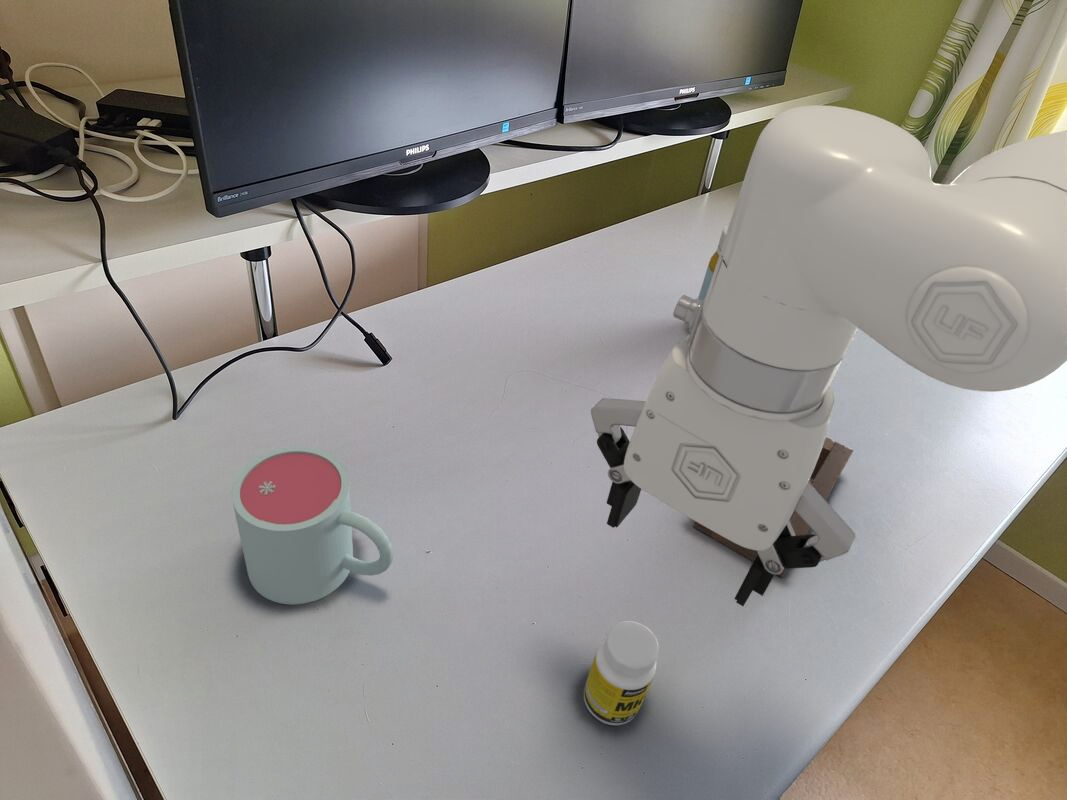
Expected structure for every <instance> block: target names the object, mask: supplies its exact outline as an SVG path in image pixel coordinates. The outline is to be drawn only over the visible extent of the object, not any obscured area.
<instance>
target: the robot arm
mask: <svg viewBox="0 0 1067 800" xmlns="http://www.w3.org/2000/svg"><path fill="white" fill-rule="evenodd" d="M931 176H932V166H931V160H930V157H929V153H928V152H927V150H926V148H925V147H924V146H923V144H922V142H921V141H920V140H919V139H918V138H916V136H915V135H913V134H911V133H910V132H908V131H907V130H906V129H904V128H902V127H900V126H899V125H897V124H895V123H893V122H891V121H888V120H886V119H884V118H882V117H879V116H876V115H873V114H871V113H867V112H864V111H861V110H857V109H852V108H848V107H841V106H835V105H820V104H819V105H801V106H800V105H799V106H795V107H792V108H789V109H787V110H784V111H782V112H780V113H778V114H776V116H774V117H773V118H772V119H771V120H770V121H769V122H768V123H767V125H765V127H764V128H763V129H762V131H761V132H760V135H759V136H758V138H757V141H756V144H755V146H754V149H753V150H752V153H751V156H750V159H749V163H748V166H747V168H746V172H745V176H744V178H743V181H742V183H741V184H742V185H741V188H740V191H739V194H738V196H737V199H736V203H735V206H734V208H733V209H734V210H733V212H732V215H731V218H730V221H729V223H730V224H729V223H728V224H729V227H728V231H727V234H726V237H725V240H724V243H723V246H722V249H721V252H720V255H719V258H718V261H717V265H716V268H715V271H714V274H713V277H712V280H711V283H710V286H709V289H708V292H707V295H706V297H705V298H704V299H703V300H700V299H698V297H697V298H695V299H694V298H692V297H690V296H687V295H685V294H684V295H682V296H681V297H680V298H679V299H678V301H677V303H676V305H675V307H674V308H673V309H674V310H673V313H672V316H673V318H675V319H677V320H679V321H681V322H683V324H684V326H686V327H688V333H689V335H687V336H686V337H685V338H683V339H682V340H681V341H679V342H677V344H675V346H674V347H673V348H672V350H671V351H670V353H669V355H668V356H667V358H666V360H665V361H664V363H663V365H662V367H661V368H660V370H659V372H658V375H657V376H656V378H655V380H654V383H653V385H652V387H651V389H650V391H649V394H648V395H647V398H646V400H636V399H635V400H634V399H620V398H609V397H608V398H607V397H603V398H601V399H600V400H599V401H598V402H597V403H595V404H594V406H592V408H591V409H590V415H591V418H592V422H593V426H594V430H595V433H597V436H598V438H597V439H596V445H597V447H598V448H599V450H600V452H601V454H602V456H603V458H604V459H605V461H606V463H607V465H608V467H609V469H608V470H607V476H608V478H609V480H610V481H611V485H610V489H609V493H608V495H607V499H606V504H607V505H608V506H610V511H609V514H608V517H607V521H606V525H607V526H609V527H611V528H612V529H614V528H618V527H619V526H620V525H621V524H622V523H623V521H624V520H625V519H626V518H627V517H628V515H629V514H630V513H631V512H632V510H633V509H634V508H635V507H636V505H637V503H638V500H639V498H640V495H641V492H642V491H644V492H645V493H646V494H649V495H650V496H652V497H653V498H655V499H657V500H658V501H660V502H661V503H663V504H665V505H667V506H668V507H670V508H672V509H674V510H675V511H677V512H679V513H681V514H682V515H684V516H686V517H688V518H689V519H691V520H692V521H694V522H695V521H696V522H698V523H700V524H701V525H703V526H705V527H707V528H709V529H710V530H712V531H714V532H716V533H717V534H719V535H721V536H723V537H725V538H726V539H728V540H730V541H732V542H734V543H736V544H738V545H740V546H742V547H745V548H748V549H752V550H757V552H758V555H757V557H756V559H755V560H754V562H753V561H752V563H751V566H750V567H749V570H748V572H747V573H746V575H745V577H744V579H743V581H742V583H741V585H740V587H739V589H738V591H737V593H736V595H735V597H734V600H735V601H736V604H738V605H740V606H741V607H744V606H745V605H746V603H747V601H748V599H749V598H750V596H751V594H752V592H755V593H756V594H758V595H760V596H761V597H763V596H764V595H765V593H766V591H767V589H768V588H769V586H770V584H771V582H772V580H773V579H774V576H775V575H776V576H778V574H781V573H782V571H783V569H787V570H789V569H805V568H806V569H807V568H815V567H818V565H819V563H821V562H824V561H827V562H828V561H830V560H832V559H836V558H837V557H840V556H842V555H845V554H848V552H849V551H850V549H851V547H852V544H853V542H854V540H855V539H856V533H855V532H854V530H853V529H852V528H851V527H850V526H849V525H848V524H847V522H846V521H845V520H844V519H843V518H842V517H841V516H840V515H839V514H838V512H837V511H836V510H835V509H834V508H833V507H832V506H831V505H830V504H829V503H828V502H827V500H826V501H825V499H824V498H823V497H822V496H821V495H820V494H819V493H818V492H817V491H816V489H815V488H814V487H813V486H812V485H811V484H810V483H809V480H811V478H812V477H811V475H812V473H813V470H814V468H815V465H816V463H817V461H818V458H819V455H820V453H821V450H822V447H823V444H824V441H825V438H826V437H827V435H828V431H829V427H830V424H831V419H832V416H833V410H834V405H835V394H834V391H833V389H832V387H831V385H832V382H833V380H834V378H835V376H836V374H837V372H838V370H839V368H840V366H841V365H842V362H843V360H844V358H845V356H846V354H847V352H848V350H849V348H850V346H851V344H852V342H853V340H854V338H855V336H856V334H857V332H858V330H860V331H862V332H863V333H864V334H866V335H867V336H868V337H870V339H873V340H874V341H875V342H877V343H878V344H879V345H880V346H882V347H883V348H884V349H886V351H888V352H890V353H891V354H892V355H894V356H896V358H898V359H900V360H901V361H903V362H904V363H906V365H909V366H910V367H912V368H914V369H916V370H917V371H919V372H920V373H923V374H924V375H926V376H928V377H929V378H932V379H934V380H937V381H938V382H940V383H944V384H947V385H949V386H953V387H955V388H959V389H963V390H969V391H975V392H992V393H993V392H1005V391H1011V390H1016V389H1019V388H1024V387H1027V386H1029V385H1031V384H1035V383H1036V382H1039V381H1040V380H1043V379H1044V378H1047V377H1048V376H1049V375H1051V374H1052V373H1054V372H1056V370H1058V369H1059V368H1060V367H1061V366H1062V365H1064V364H1065V363H1066V362H1067V130H1062V131H1057V132H1053V133H1049V134H1045V135H1044V134H1043V135H1040V136H1035V137H1031V138H1028V139H1024V140H1021V141H1017V142H1015V143H1012V144H1009V145H1006V146H1003V147H1002V148H1000V149H998V150H995V151H992V152H991V153H989V154H986V155H985V156H982V157H981V158H980V159H977V160H976V161H974V162H973V163H972V164H971V165H969V166H968V167H967V168H965V169H964V170H963V171H962V172H960V174H958V176H957V177H955V178H954V179H953V180H952V181H951V182H950V183H949V184H943V183H935V182H934V181H933V179H932V177H931ZM621 426H625V427H634V430H633V433H632V435H631V437H630V438H628V436H627V433H626V431H624V429H623V427H621ZM794 510H795V512H796V513H797V514H798V515H799V516H800V517H801V518H802V519H803V520H804V522H805V523H806V524H807V525H808V526H809V527H810V530H811V531H812V532H813V533H811V534H807V535H798V536H796V535H795V532H794V530H793V527H792V525H791V523H790V518H791V516H792V514H793V512H794Z"/></svg>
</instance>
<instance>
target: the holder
mask: <svg viewBox="0 0 1067 800" xmlns="http://www.w3.org/2000/svg"><path fill="white" fill-rule="evenodd" d="M853 453H854V449H852V448H850V447H848V446H847V445H844V444H842V443H841V442H838V441H836V440H834V439H833V438H831V437H828V436H826V438H825V441H824V444H823V447H822V450H821V453H820V455H819V458H818V461H817V463H816V465H815V468H814V470H813V473H812V475H811V477H810V478H813V480H811V479H810V480H809V483H810V484H811V485H812V486H813V487H814V488H815V489H816V491H817V492H818V493H819V494H820V495H821V496H822V497H823V498H824V499H825V501H826V502H827V499H828V497H829V496H830V494H831V492H832V490H833V488H834V486H835V485H836V483H837V481H838V479H839V477H840V475H841V474H842V473H843V470H844V469H845V467H846V465H847V463H848V461H850V458H851V456H852V454H853ZM789 520H790V523H791V525H792V527H793V530H794V532H795V535H796V536H798V535H808V533H809V531H810V530H811V528H810V527H809V526H808V525H807V524H806V523H805V522H804V520H803V519H802V518H801V517H800V516H799V515H798V514H797V513H796V512H795V510H794V512H793V514H792V516H791V518H790V519H789ZM692 527H693V528H694V529H697V530H698V531H700V532H701V533H704V534H705V535H707V536H709V537H710V538H711V539H714V540H715V541H717V542H719V543H721V544H722V545H724V546H726V547H727V548H729V549H731V550H732V551H734V552H736V553H738V554H739V555H741V556H743V557H745V558H747V559H748V560H750V561H752V563H753V562H754V560H755V559H756V557H757V555H758V552H757V550H752V549H748V548H745V547H742V546H740V545H738V544H736V543H734V542H732V541H730V540H728V539H726V538H725V537H723V536H721V535H719V534H717V533H716V532H714V531H712V530H710V529H709V528H707V527H705V526H703V525H701V524H700V523H698V522H696V521H694V522H693V525H692ZM787 571H788V569H783V571H782V573H781V574H778V575H777V576H778V577H780V578H784V576H785V575H786V573H787Z"/></svg>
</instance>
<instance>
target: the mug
mask: <svg viewBox="0 0 1067 800" xmlns="http://www.w3.org/2000/svg"><path fill="white" fill-rule="evenodd" d="M349 480H350V479H349V474H348V472H347V470H346V467H345V465H344V464H343V463H342V462H341V461H340V460H339V459H338V457H335V456H334V455H332V454H331V453H329V452H328V451H325V450H322V449H319V448H316V447H311V446H302V445H296V446H295V445H294V446H293V445H292V446H285V447H280V448H275V449H273V450H269V451H267V452H264V453H262V454H260V455H259V456H257V457H255V458H254V459H252V460H251V461H249V462H248V463H247V464H246V465H245V466H243V468H242V469H241V470H240V471H239V473H238V474H237V476H236V477H235V479H234V481H233V484H232V487H231V500H232V506H233V510H234V514H235V519H236V524H237V530H238V534H239V539H240V542H241V549H242V552H243V557H244V562H245V566H246V571H247V576H248V579H249V582H250V584H251V585H252V587H253V589H254V590H255V591H256V592H257V593H258V594H259V595H261V596H262V597H264V598H265V599H266V600H269V601H271V602H274V603H278V604H283V605H303V604H308V603H309V604H310V603H312V602H316V601H319V600H321V599H323V598H325V597H327V596H329V595H330V594H332V593H333V592H335V591H336V590H337V589H338V588H339V587H340V586H341V585H342V584H343V583H344V582H345V580H346V579H347V578H348V576H349V574H350V572H351V573H353V574H358V575H361V576H376V575H381V574H382V573H384V572H386V571H388V569H389V568H390V566H391V565H392V563H393V559H394V550H393V545H392V542H391V541H390V539H389V537H388V536H387V535H386V533H385V532H384V530H383V529H382V528H381V527H379V526H378V525H377V524H376V523H375V522H374V521H372V520H370V519H369V518H368V517H366V516H364V515H361V514H359V513H358V512H353V511H351V495H350V481H349ZM353 528H354V529H355V530H358V531H359V532H361V533H362V534H364V535H365V536H366V537H367V538H369V540H371V541H372V542H373V543H374V545H375V547H376V548H377V549H378V553H379V558H378V559H377V560H374V561H366V560H362V559H359V558H356V557H354V547H353Z"/></svg>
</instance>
